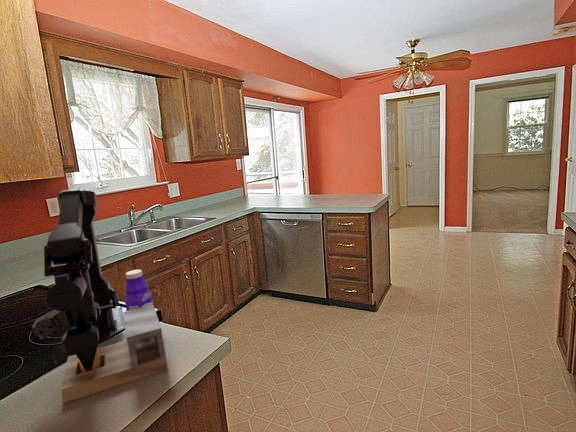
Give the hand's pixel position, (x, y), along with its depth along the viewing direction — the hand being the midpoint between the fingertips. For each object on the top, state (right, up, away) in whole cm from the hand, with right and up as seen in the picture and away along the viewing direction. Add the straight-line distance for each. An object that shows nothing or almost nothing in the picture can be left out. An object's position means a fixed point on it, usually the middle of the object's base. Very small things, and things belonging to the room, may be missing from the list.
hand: (90, 360), depth 79 cm
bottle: (+4, 0, +20) cm, 20 cm away
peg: (0, -4, +1) cm, 4 cm away
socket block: (+5, -3, +3) cm, 6 cm away
